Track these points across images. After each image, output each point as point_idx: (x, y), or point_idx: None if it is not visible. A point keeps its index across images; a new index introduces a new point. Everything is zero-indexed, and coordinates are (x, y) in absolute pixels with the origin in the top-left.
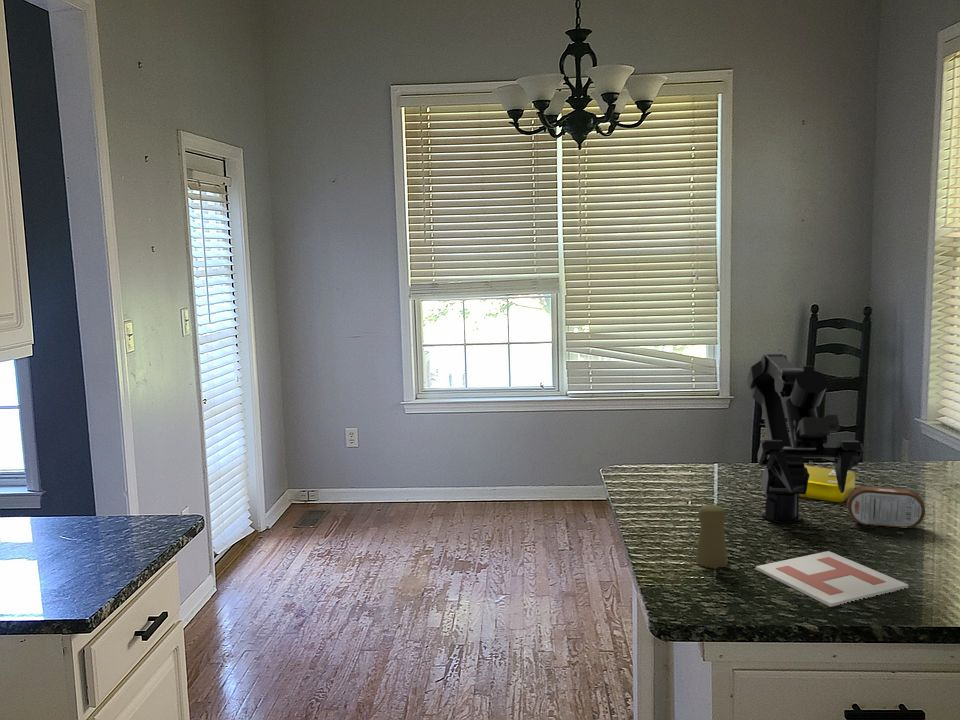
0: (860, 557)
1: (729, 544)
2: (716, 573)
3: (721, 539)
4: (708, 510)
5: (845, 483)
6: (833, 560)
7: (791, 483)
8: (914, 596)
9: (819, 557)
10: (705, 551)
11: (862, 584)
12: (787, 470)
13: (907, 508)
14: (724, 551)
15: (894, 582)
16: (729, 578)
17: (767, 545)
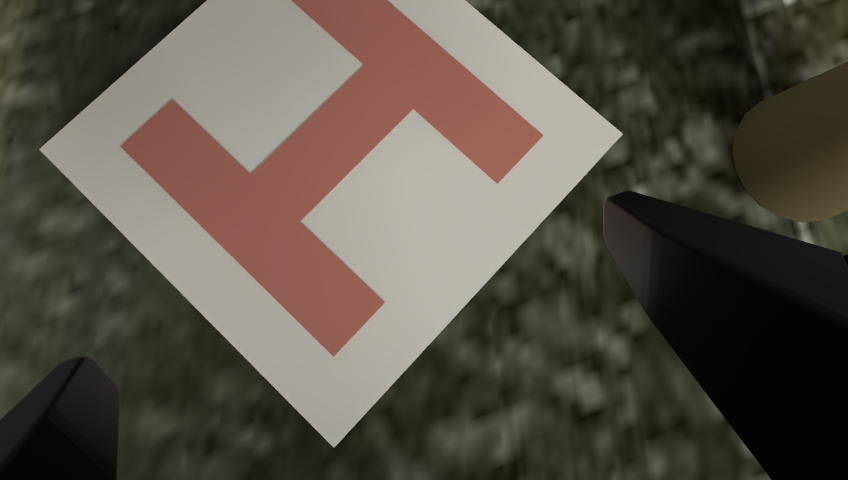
0: (196, 453)
1: None
2: (749, 48)
3: (842, 74)
4: None
5: None
6: (314, 315)
7: (657, 214)
8: (41, 83)
9: (374, 340)
10: None
11: (213, 90)
12: (834, 296)
13: None
14: (783, 113)
15: (89, 154)
16: (692, 18)
17: (615, 463)
